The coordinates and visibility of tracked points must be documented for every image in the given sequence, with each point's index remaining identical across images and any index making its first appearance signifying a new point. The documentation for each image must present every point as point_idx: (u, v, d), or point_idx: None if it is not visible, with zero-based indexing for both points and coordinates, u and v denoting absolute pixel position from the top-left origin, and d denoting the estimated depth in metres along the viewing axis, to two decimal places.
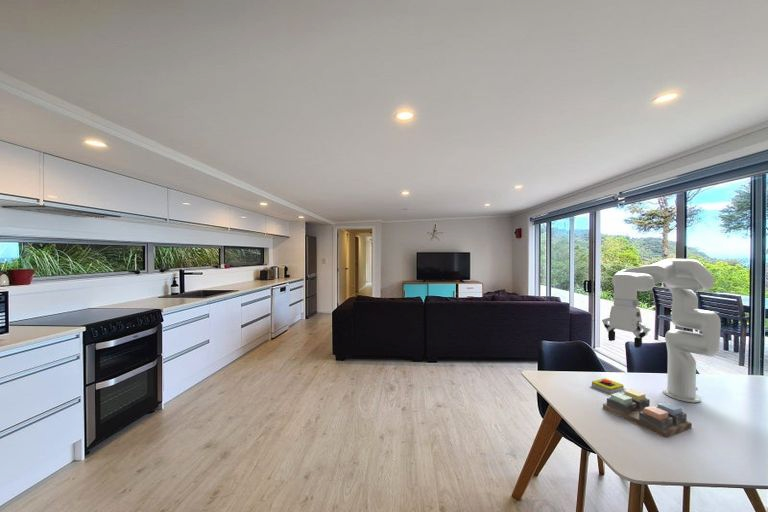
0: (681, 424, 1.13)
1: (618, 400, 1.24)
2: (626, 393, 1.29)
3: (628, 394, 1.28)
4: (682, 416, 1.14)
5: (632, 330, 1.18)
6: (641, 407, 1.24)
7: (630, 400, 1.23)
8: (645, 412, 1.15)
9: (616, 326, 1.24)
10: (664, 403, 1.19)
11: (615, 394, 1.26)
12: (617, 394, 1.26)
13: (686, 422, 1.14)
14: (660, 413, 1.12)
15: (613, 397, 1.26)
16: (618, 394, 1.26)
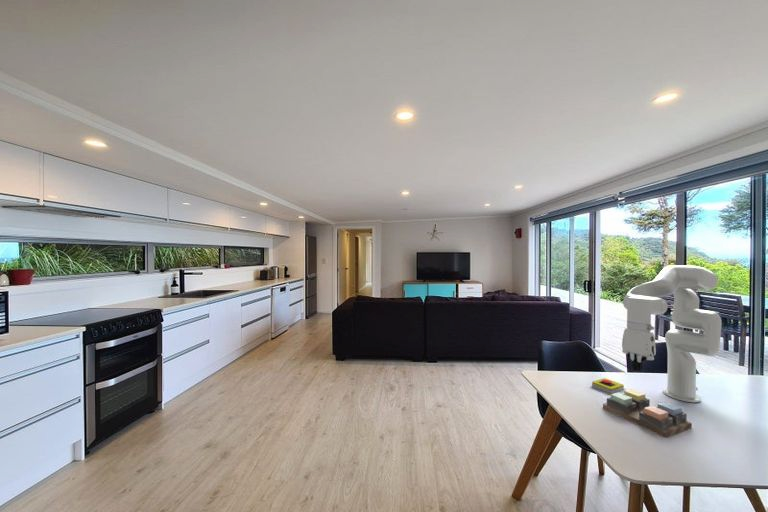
0: (681, 424, 1.13)
1: (618, 400, 1.24)
2: (626, 393, 1.29)
3: (628, 394, 1.28)
4: (682, 416, 1.14)
5: (646, 355, 1.18)
6: (641, 407, 1.24)
7: (630, 400, 1.23)
8: (645, 412, 1.15)
9: (630, 349, 1.23)
10: (664, 403, 1.19)
11: (615, 394, 1.26)
12: (617, 394, 1.26)
13: (686, 422, 1.14)
14: (660, 413, 1.12)
15: (613, 397, 1.26)
16: (618, 394, 1.26)
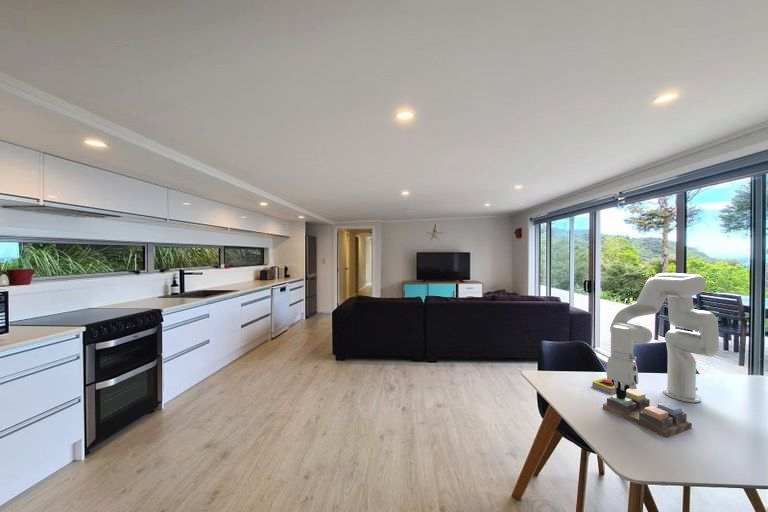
0: (681, 424, 1.13)
1: (618, 402, 1.24)
2: (626, 393, 1.29)
3: (628, 394, 1.28)
4: (682, 416, 1.14)
5: (629, 384, 1.20)
6: (641, 407, 1.24)
7: (630, 402, 1.23)
8: (645, 412, 1.15)
9: (613, 377, 1.26)
10: (664, 403, 1.19)
11: (615, 396, 1.26)
12: None
13: (686, 422, 1.14)
14: (660, 413, 1.12)
15: (613, 399, 1.26)
16: None
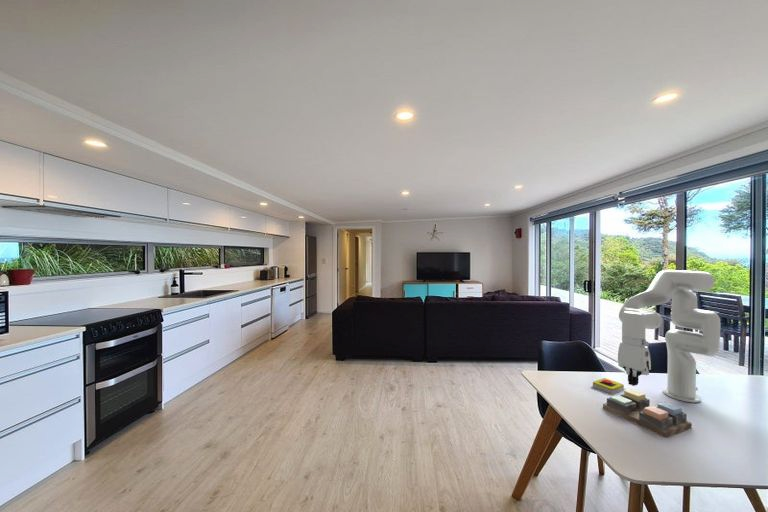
0: (681, 424, 1.13)
1: None
2: (626, 393, 1.29)
3: (628, 394, 1.28)
4: (682, 416, 1.14)
5: (641, 369, 1.19)
6: (641, 407, 1.24)
7: (630, 403, 1.23)
8: (645, 412, 1.15)
9: (625, 363, 1.24)
10: (664, 403, 1.19)
11: (615, 397, 1.26)
12: (617, 397, 1.26)
13: (686, 422, 1.14)
14: (660, 413, 1.12)
15: (613, 400, 1.26)
16: (618, 397, 1.26)
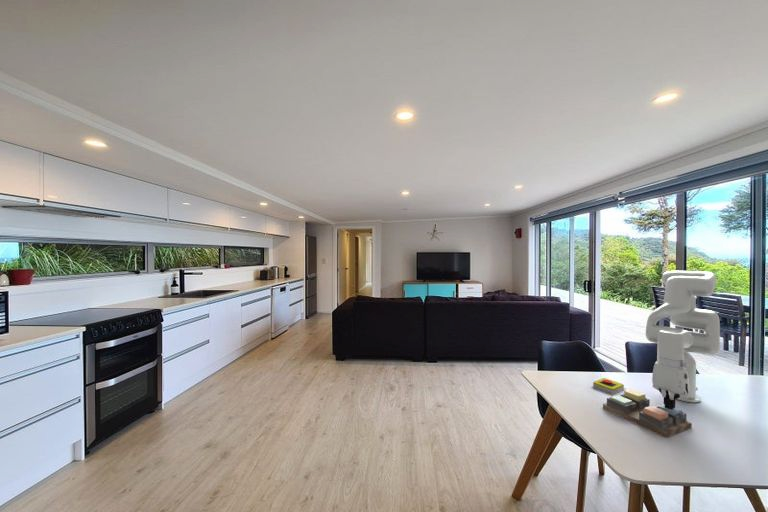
0: (681, 424, 1.13)
1: None
2: (626, 393, 1.29)
3: (628, 394, 1.28)
4: (682, 416, 1.14)
5: (679, 393, 1.13)
6: (641, 407, 1.24)
7: (630, 403, 1.23)
8: (645, 412, 1.15)
9: (661, 385, 1.18)
10: (664, 405, 1.19)
11: (615, 397, 1.26)
12: (617, 397, 1.26)
13: (686, 422, 1.14)
14: (660, 413, 1.12)
15: (613, 400, 1.26)
16: (618, 397, 1.26)
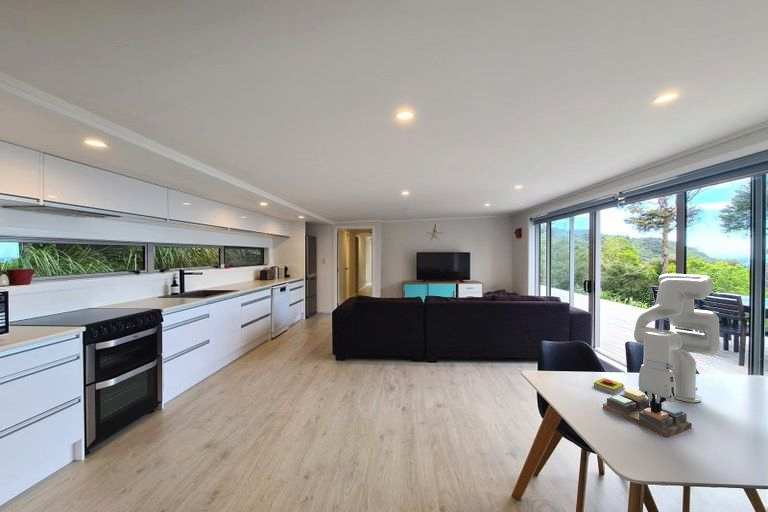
0: (681, 424, 1.13)
1: None
2: (626, 393, 1.29)
3: (628, 394, 1.28)
4: (682, 416, 1.14)
5: (665, 396, 1.09)
6: (641, 407, 1.24)
7: (630, 403, 1.23)
8: (645, 413, 1.15)
9: (647, 388, 1.15)
10: (664, 406, 1.19)
11: (615, 397, 1.26)
12: (617, 397, 1.26)
13: (686, 422, 1.14)
14: (660, 414, 1.12)
15: (613, 400, 1.26)
16: (618, 397, 1.26)
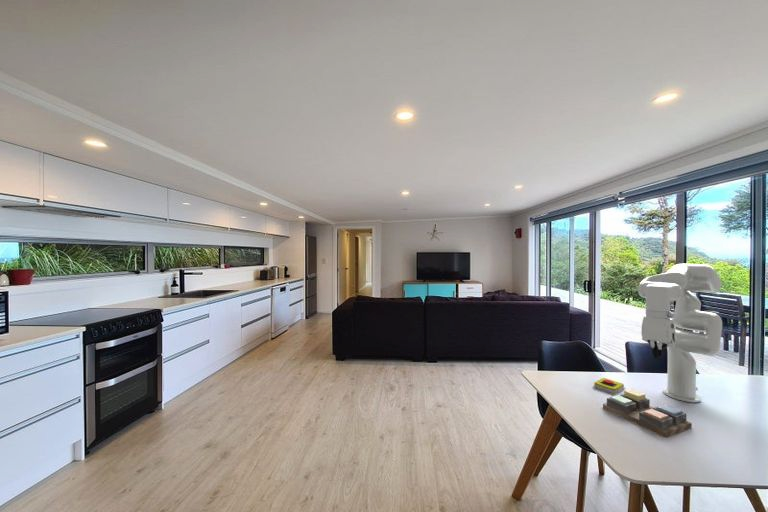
0: (681, 424, 1.13)
1: None
2: (626, 393, 1.29)
3: (628, 394, 1.28)
4: (682, 416, 1.14)
5: (667, 342, 1.18)
6: (641, 407, 1.24)
7: (630, 403, 1.23)
8: None
9: (649, 337, 1.24)
10: (664, 406, 1.19)
11: (615, 397, 1.26)
12: (617, 397, 1.26)
13: (686, 422, 1.14)
14: (660, 416, 1.12)
15: (613, 400, 1.26)
16: (618, 397, 1.26)
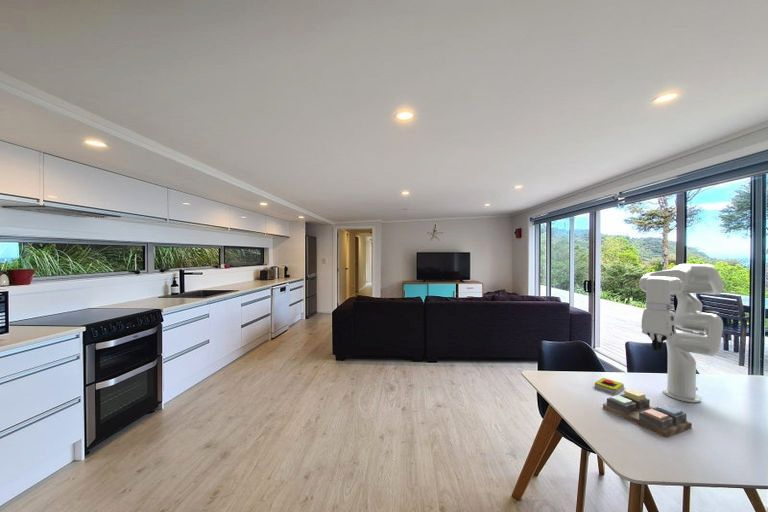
0: (681, 424, 1.13)
1: None
2: (626, 393, 1.29)
3: (628, 394, 1.28)
4: (682, 416, 1.14)
5: (666, 334, 1.20)
6: (641, 407, 1.24)
7: (630, 403, 1.23)
8: None
9: (649, 329, 1.25)
10: (664, 406, 1.19)
11: (615, 397, 1.26)
12: (617, 397, 1.26)
13: (686, 422, 1.14)
14: (660, 416, 1.12)
15: (613, 400, 1.26)
16: (618, 397, 1.26)
